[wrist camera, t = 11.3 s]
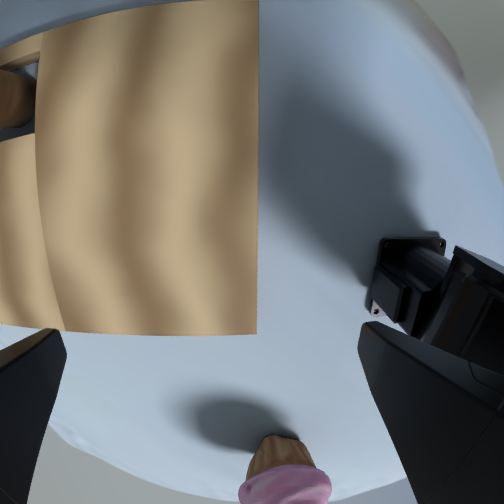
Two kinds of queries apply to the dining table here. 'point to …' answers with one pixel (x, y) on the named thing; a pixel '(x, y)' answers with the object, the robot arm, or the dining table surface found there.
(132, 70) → the stool top
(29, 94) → the stool leg
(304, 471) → the cupcake
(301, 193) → the dining table surface
